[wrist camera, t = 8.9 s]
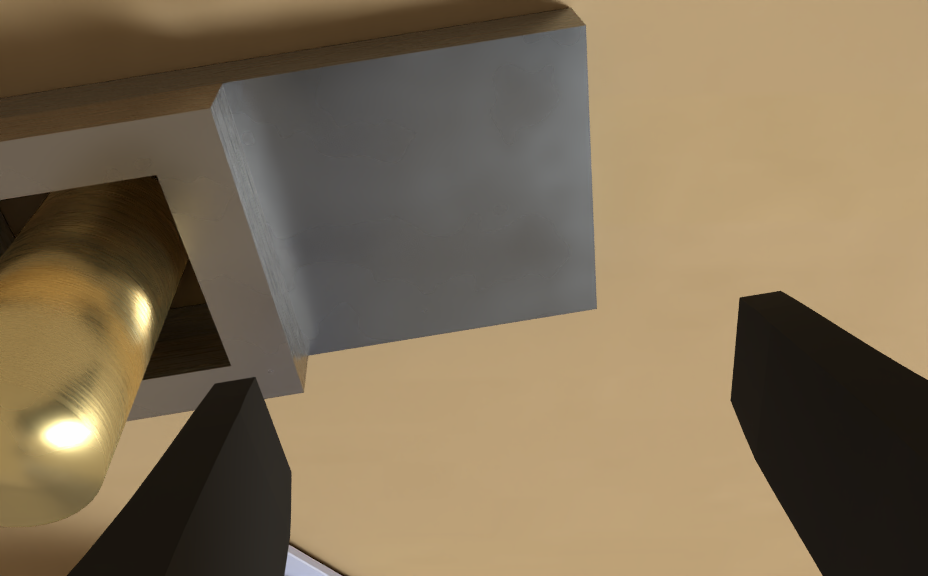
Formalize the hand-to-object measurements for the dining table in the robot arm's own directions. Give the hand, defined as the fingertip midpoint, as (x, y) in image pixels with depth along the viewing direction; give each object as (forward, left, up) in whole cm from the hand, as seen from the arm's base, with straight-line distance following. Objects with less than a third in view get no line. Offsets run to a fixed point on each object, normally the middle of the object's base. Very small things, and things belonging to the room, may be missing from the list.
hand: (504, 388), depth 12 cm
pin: (-8, +4, -9) cm, 13 cm away
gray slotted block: (-8, +4, -9) cm, 13 cm away
